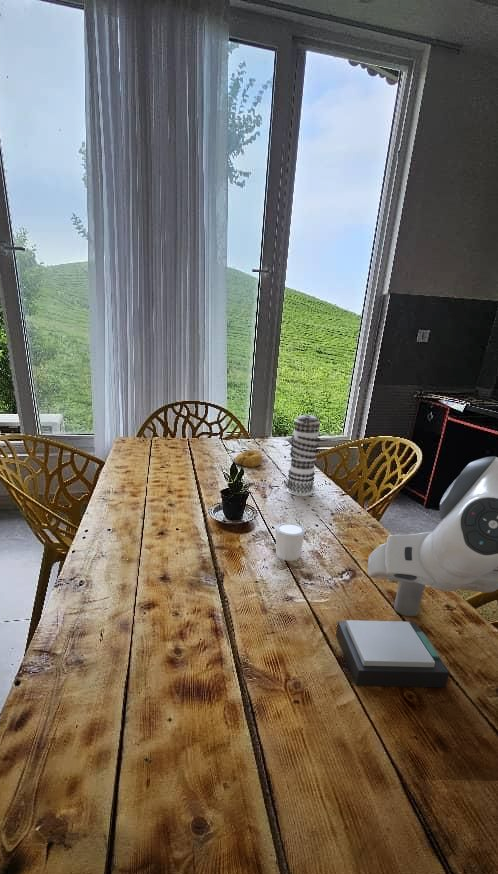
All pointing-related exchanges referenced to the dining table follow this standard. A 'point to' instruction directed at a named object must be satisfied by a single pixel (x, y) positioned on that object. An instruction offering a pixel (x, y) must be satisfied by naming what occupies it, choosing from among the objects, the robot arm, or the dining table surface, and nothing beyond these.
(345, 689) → the dining table surface
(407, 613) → the grey hollow tube
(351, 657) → the scale
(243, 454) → the bagel
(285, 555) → the white short cylinder
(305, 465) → the banded tower model
